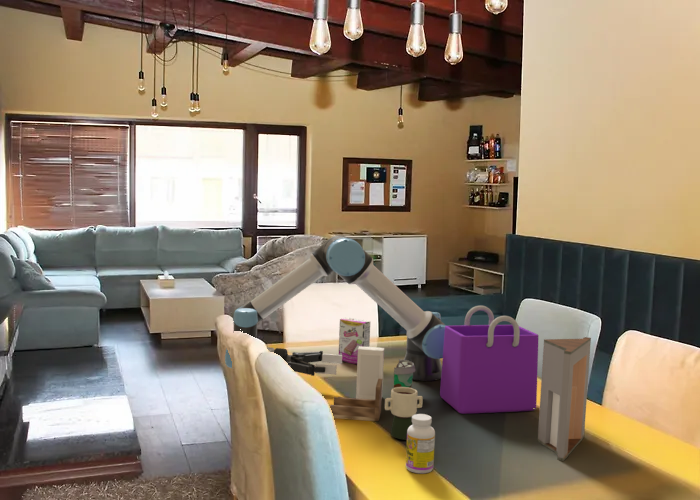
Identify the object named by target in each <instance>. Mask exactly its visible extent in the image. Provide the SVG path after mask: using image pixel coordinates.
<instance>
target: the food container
mask: <svg viewBox="0 0 700 500" xmlns="http://www.w3.org/2000/svg"><path fill="white" fill-rule="evenodd" d="M413 372H415V366H414V363H413V362H411V361H408V360H404V359H401V358H400V359H399V358H398V362H397V365H396V367H394V369H393V388H396V387H408V388H412V387H413V386H412V385H413V379H412V378H413Z"/></svg>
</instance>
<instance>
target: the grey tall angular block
mask: <svg viewBox="0 0 700 500" xmlns="http://www.w3.org/2000/svg"><path fill="white" fill-rule="evenodd" d="M591 339H592V337H587V336H586V337H585V336H584V337H582V338H557V339H556V338H555V339H554V338H553V339H551V338H549V339H546V338H545V339H543V352H542V369H541V380H540V381H541V382H540V397H539V400H540V401H539V414H538V416H539V417H538V429H537V442H539V444H541V445H543V446H545V447H546V448H547V449H549V450H550V451H551V452H553V453H555V454H556V455H557V459H556V460H558V461H562V462H564V461H565V460H566V459H567V458H568V457H569V455H570V454H571V453H572V452H573V451H574V450H575V448H576V447H577V446H578V445H579V444H580V443H581V441H582V440H583V439H584V438H585V432H586V431H585V430H586V429H585V426H586V417H587V416H586V414H587V400H588V399H587V398H588V387H589V386H588V385H589V374H590V373H589V371H590V359H591V358H590V357H591V356H590V354H591V344H592V342H591V341H592V340H591Z"/></svg>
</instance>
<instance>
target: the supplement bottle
mask: <svg viewBox="0 0 700 500" xmlns="http://www.w3.org/2000/svg"><path fill="white" fill-rule="evenodd" d="M432 419H433V418H432V416H430V415H428V414H427V413H426V414H425V413H416V414H415V415H413V416H412V423H413V425H411V426H410V427H409V428H408V430H407V440H406V452H405V453H406V454H405V468H406V469H407V470H408V471H409V472H411V473H414V474H419V475H420V474H428V473H431V472H432V471H433V470H434V465H435V463H434V462H435V441H436V431H435V429H434V427H432V422H433V421H432Z"/></svg>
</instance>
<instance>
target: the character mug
mask: <svg viewBox="0 0 700 500" xmlns="http://www.w3.org/2000/svg"><path fill="white" fill-rule="evenodd" d="M418 394H419V393H418V390H417V389H415V388H412V387H411V388H408V387H396V388H394V387H393V388H391V390H390V397H386V398H385V399H384V410H385V411H390V412H391V414H392V415H393V418H392V423H391V430H390V436H392V437H393V438H396V439H398V440H402V441H404V440H405V441H407V430H408V428H409V427H410V426H411V425H413V423H412V416H413V415H415V414H417V412H418V409H420V408H422V407H423V402H424V401H423V399H424V398H423V396H422V395H418ZM389 402H390V406H389Z"/></svg>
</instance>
